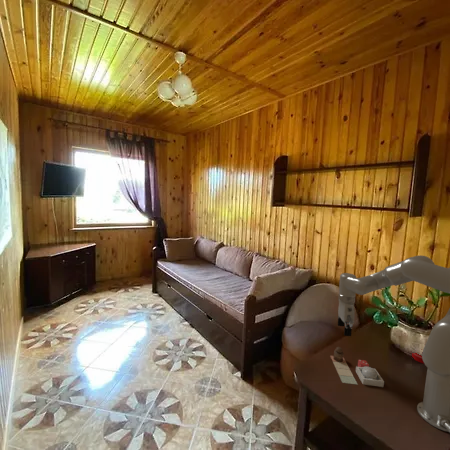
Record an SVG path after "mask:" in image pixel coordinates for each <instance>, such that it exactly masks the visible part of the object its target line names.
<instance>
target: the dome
mask: <svg viewBox="0 0 450 450" xmlns="http://www.w3.org/2000/svg"><path fill="white" fill-rule="evenodd" d="M375 369H376V368H373V367H371V366H369V367H367V366H365V367H363V368H362V374H363V376H364V378H368V379H376V380H377V372H378V370H377V369H376V370H375Z"/></svg>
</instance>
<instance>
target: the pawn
mask: <svg viewBox="0 0 450 450" xmlns="http://www.w3.org/2000/svg"><path fill="white" fill-rule="evenodd" d="M333 356H334V360H335V361H337V362H341V363H342V361H343V358H344V351H343V348H342V347H340V346H337V347H335V349H334V351H333Z"/></svg>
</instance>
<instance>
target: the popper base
mask: <svg viewBox="0 0 450 450" xmlns="http://www.w3.org/2000/svg"><path fill="white" fill-rule="evenodd" d="M365 366H367V367H370V364H369V363H368V361H367V360H364V359H358V360H357V365H356V366H355V373H356V374H357V376H358V378H359V380H360V382H361V383H362V385H366V386H371V387H372V386H373V387H379V388H384V385H385V381H384V379H383V377H381V375H380V374H379V372H378V371H377V369H376V368H374V369H375V370H376V371H377V380H376V379H368V378H364V376H363V374H362V368H363V367H365Z"/></svg>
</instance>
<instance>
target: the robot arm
mask: <svg viewBox="0 0 450 450" xmlns="http://www.w3.org/2000/svg"><path fill="white" fill-rule="evenodd" d="M411 282H416V283H418V284H422V285H423V286H426V287H430V288H432V289H435V290H438V291H440V292H444V293H445V294H446V293H447V294H450V267H444V266H441V265H437V264H435V262H434V260H432V258H430V257H428V256H426V255H420V254H419V255H415V256H411V257H408V258H406V259H404V260H402V261H399V262H397V263H394V264H391V265H388V266H385V268H383V270H380V271H378V272H375V273H372V274H369V275H365V276H362V277H357V276H356V275H355V274H353V273H350V272H349V273H348V272H343V273H341V274H340V275H339V287H338V295H337V296H338V308H337V310H338V311H337V312H338V313H337V314H338V316H337V326H338V327H344V330H343V335H344V336H345V337H352V331H353V325H354V324H355V303H356V294H357V295H360V296H363V295H367V294H370V293H373V292H375V291H378V290H381V289H384V288H385V289H386V288H387V287H391V286H395V287H396V286H400V285H403V284H407V283H411ZM428 335H429V336H428V338H427V339H426V342H425V345H424V347H423V349H422V350H423V352H422V359H423V362H424V364H423V365H424V366H426V368H427V371H426V377H425V385H424V391H423V392H424V393H423V401H421V402H419V403H418V404H417V406H416V411H417V413H418V414H419V416H420V417H421V418H422V419H424V421H426V422H427V423H428V424H429V425H431V426H432V427H434V428H436V429H439V430H440V431H444V432H448V433H450V307H449V309H448V310H447V313H446V314H445V316H444V317H442V318H441V319H440V320H438V321H437V322H436V323H435V324H434V326H433V327H432V328H431V332H430V333H429V334H428Z"/></svg>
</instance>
